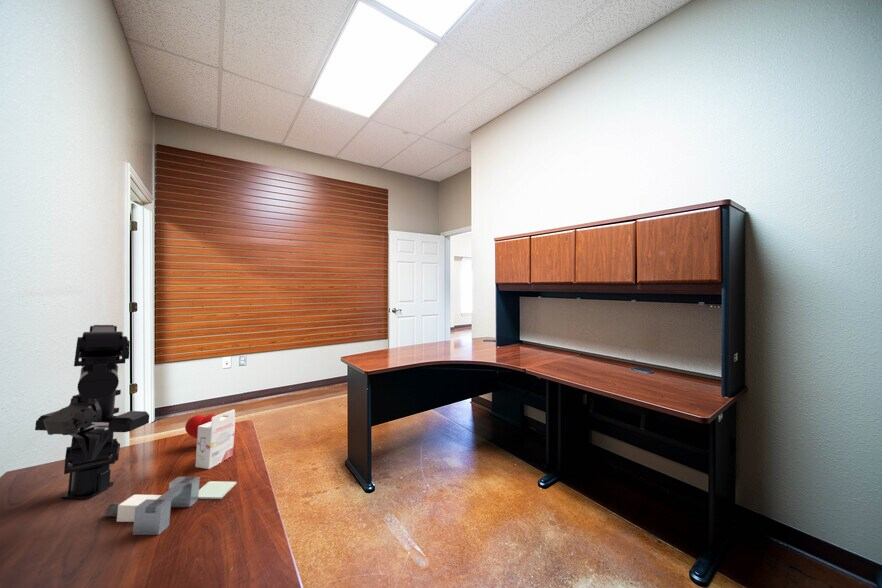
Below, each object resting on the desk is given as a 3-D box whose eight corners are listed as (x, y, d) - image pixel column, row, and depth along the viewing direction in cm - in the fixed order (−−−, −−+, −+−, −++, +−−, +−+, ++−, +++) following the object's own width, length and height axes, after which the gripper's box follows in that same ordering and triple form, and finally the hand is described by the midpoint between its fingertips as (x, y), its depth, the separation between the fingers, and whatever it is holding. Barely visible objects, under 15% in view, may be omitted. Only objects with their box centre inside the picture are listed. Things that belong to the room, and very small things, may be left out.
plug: (101, 521, 69) (103, 505, 69) (118, 509, 73) (120, 494, 73) (146, 521, 70) (147, 505, 70) (160, 510, 74) (162, 494, 74)
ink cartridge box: (219, 454, 101) (223, 406, 102) (233, 456, 100) (237, 408, 101) (193, 467, 93) (198, 415, 94) (208, 470, 92) (212, 417, 93)
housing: (132, 534, 66) (135, 507, 66) (176, 499, 78) (178, 476, 78) (158, 534, 66) (161, 507, 67) (198, 499, 78) (199, 477, 79)
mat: (190, 498, 79) (190, 496, 79) (209, 482, 86) (209, 481, 86) (220, 498, 79) (221, 497, 79) (236, 483, 86) (236, 481, 86)
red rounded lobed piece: (179, 453, 101) (182, 420, 101) (187, 443, 107) (189, 413, 108) (215, 449, 105) (218, 417, 105) (220, 440, 111) (222, 411, 111)
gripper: (6, 397, 63) (-3, 478, 63) (109, 400, 65) (101, 480, 64) (67, 383, 74) (60, 452, 74) (153, 386, 76) (147, 454, 75)
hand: (91, 459), depth 71 cm, fingers closed
